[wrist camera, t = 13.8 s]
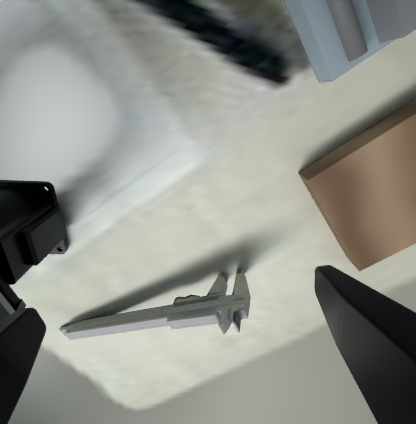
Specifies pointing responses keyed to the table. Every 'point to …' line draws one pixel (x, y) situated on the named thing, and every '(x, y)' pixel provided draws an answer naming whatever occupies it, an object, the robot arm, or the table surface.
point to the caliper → (176, 312)
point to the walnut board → (370, 189)
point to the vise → (348, 30)
